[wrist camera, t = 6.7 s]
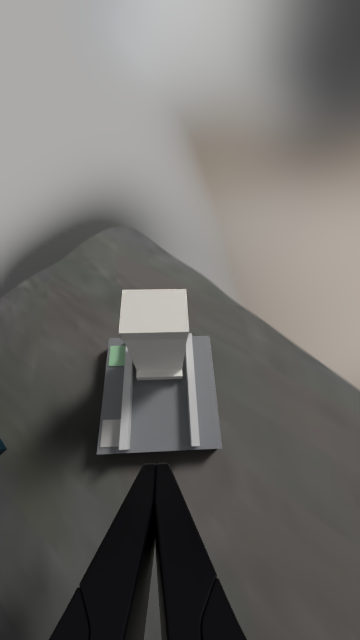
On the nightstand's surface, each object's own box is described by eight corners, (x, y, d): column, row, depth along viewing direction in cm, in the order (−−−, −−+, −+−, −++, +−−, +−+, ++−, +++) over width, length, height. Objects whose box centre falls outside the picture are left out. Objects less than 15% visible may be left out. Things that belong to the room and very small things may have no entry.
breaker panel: (217, 448, 17) (225, 448, 14) (102, 454, 16) (92, 454, 14) (206, 343, 20) (211, 330, 18) (113, 345, 20) (106, 332, 18)
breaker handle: (182, 379, 17) (189, 337, 11) (137, 380, 17) (118, 339, 11) (180, 340, 19) (185, 284, 12) (139, 341, 18) (122, 285, 12)
